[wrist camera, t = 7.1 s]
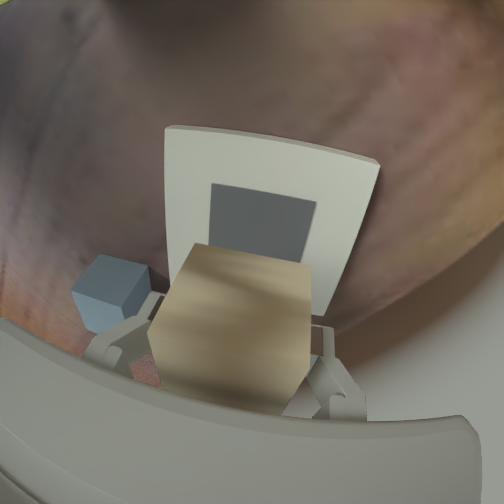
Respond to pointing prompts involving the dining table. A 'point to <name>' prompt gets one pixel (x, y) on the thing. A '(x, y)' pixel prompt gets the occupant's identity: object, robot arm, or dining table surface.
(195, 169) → the plate
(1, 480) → the robot arm
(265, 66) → the dining table surface
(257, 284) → the maple block
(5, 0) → the plant pot
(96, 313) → the slate blue block
